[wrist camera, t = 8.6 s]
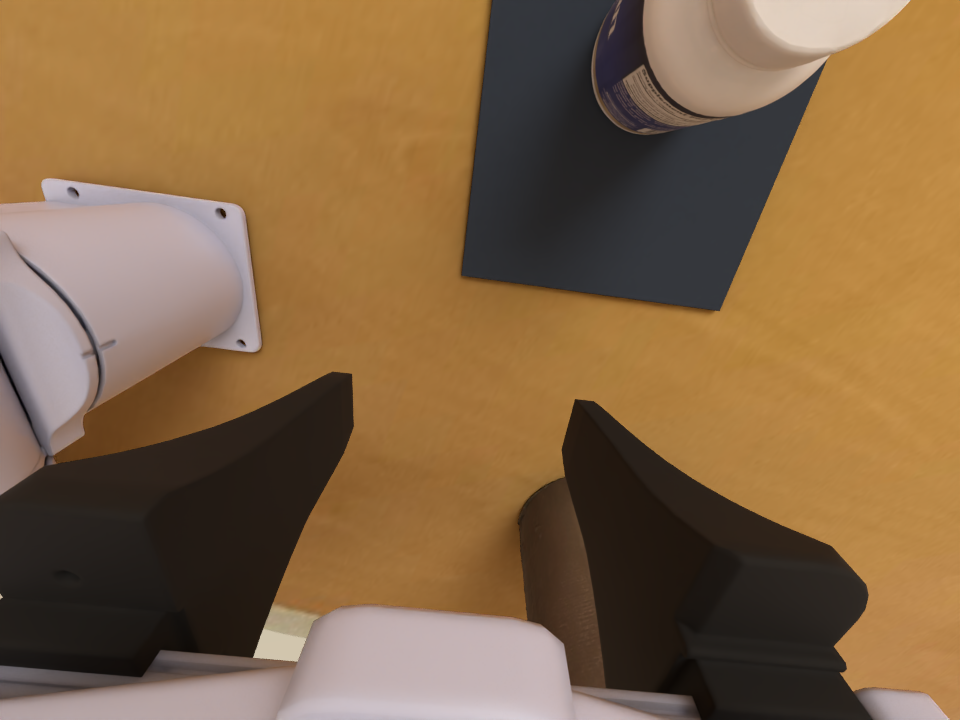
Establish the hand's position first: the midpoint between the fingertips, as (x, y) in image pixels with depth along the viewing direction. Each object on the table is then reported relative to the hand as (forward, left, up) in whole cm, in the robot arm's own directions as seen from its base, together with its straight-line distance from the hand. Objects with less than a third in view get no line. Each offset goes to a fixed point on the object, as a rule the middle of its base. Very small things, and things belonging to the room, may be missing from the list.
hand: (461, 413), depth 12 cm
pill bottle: (+6, +12, -10) cm, 17 cm away
